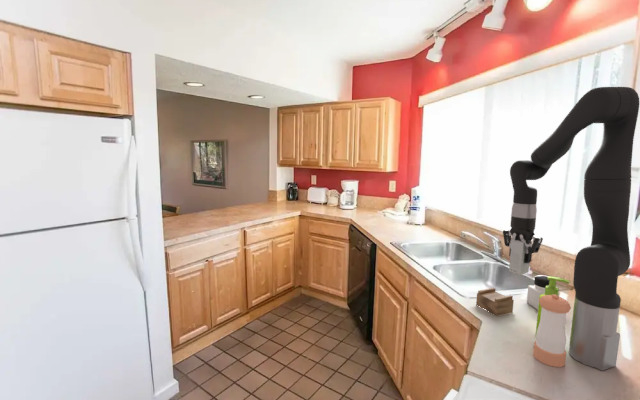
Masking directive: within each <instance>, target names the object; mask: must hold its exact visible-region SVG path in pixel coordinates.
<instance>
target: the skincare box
mask: <svg viewBox="0 0 640 400" xmlns="http://www.w3.org/2000/svg"><path fill="white" fill-rule="evenodd" d="M526 244H528V243H526ZM524 254H525V250H524V242H521V241H519V240H512V242H511V254H510V256H509V266H508V267H509V269H508V272H510V273H512V274H514V275H517V276H518V275H519V276H522V275H525V274H528V273H529V269H530V263H524Z"/></svg>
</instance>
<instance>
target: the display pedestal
mask: <svg viewBox="0 0 640 400" xmlns="http://www.w3.org/2000/svg"><path fill="white" fill-rule="evenodd" d="M475 303H476V304H475V305H476V306H477V305H478V306H480V307H481V308H480V307H479V308H480V309H482V308H484V309H486V310H487V311H486V310H485V311H486V312H488V311H489V312H488V313H490V314H491V313H492V315H493V314H494V315H493V316H495V317H499V316H503V315H509V314H513V310H514V299H513V295H511V294H509V295H504V294H502V293H501V292H500V293H499V292H498V291H496V287H491V288H486V289H480V290H478V291H477V292H476V302H475ZM478 306H477V307H478ZM484 309H483V310H484Z"/></svg>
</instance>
